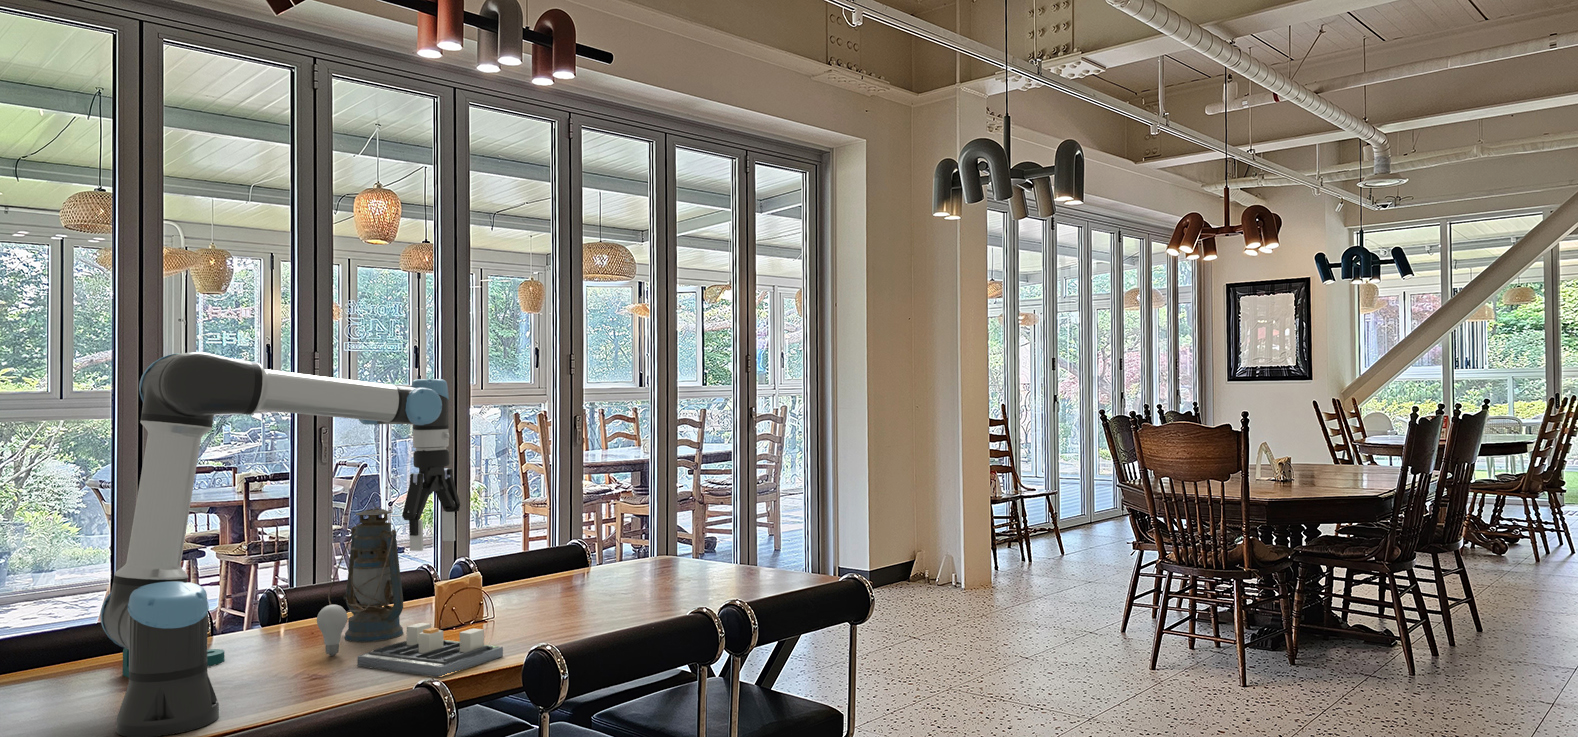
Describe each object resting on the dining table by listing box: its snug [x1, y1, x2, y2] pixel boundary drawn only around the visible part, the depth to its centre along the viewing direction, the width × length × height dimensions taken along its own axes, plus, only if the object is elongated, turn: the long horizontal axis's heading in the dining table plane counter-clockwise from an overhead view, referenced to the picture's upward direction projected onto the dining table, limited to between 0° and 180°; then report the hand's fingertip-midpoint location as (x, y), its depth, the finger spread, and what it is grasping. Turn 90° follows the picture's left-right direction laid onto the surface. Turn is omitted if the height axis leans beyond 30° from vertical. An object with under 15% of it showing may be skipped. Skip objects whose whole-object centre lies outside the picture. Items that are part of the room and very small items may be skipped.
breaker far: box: [406, 622, 432, 645], centre depth 226 cm, size 4×3×4 cm
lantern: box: [327, 506, 404, 643], centre depth 243 cm, size 19×14×30 cm
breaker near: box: [459, 628, 485, 652], centre depth 220 cm, size 4×3×4 cm
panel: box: [356, 639, 504, 678], centre depth 219 cm, size 18×23×3 cm
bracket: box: [122, 648, 225, 679], centre depth 216 cm, size 18×7×8 cm, turn 141°
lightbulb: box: [316, 604, 349, 657], centre depth 225 cm, size 6×6×11 cm
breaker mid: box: [419, 627, 444, 653], centre depth 219 cm, size 4×3×5 cm
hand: (433, 545), depth 229 cm, fingers open, 13 cm apart
